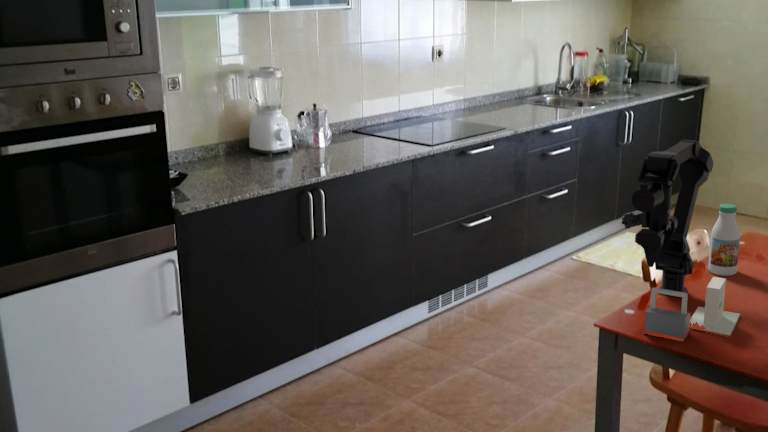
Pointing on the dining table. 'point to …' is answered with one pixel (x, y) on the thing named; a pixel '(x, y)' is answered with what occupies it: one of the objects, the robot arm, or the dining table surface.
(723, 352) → the dining table surface
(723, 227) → the milk bottle
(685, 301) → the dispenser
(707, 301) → the white rectangular block
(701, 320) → the mat
